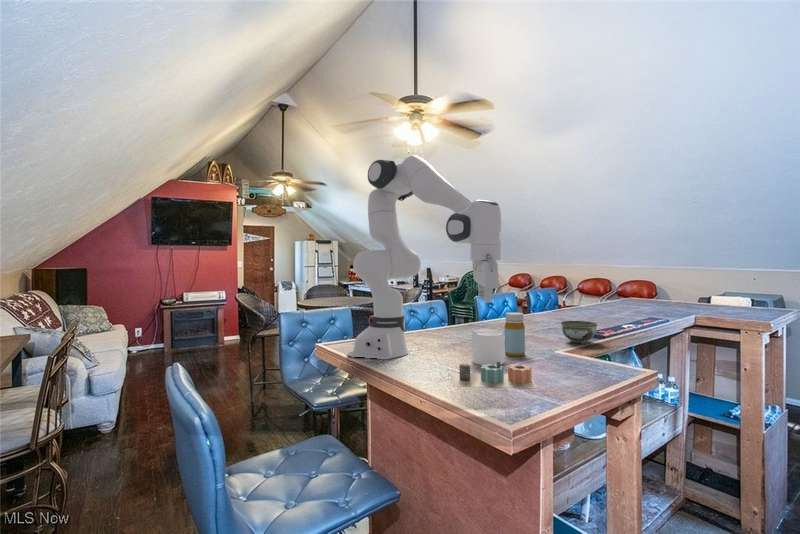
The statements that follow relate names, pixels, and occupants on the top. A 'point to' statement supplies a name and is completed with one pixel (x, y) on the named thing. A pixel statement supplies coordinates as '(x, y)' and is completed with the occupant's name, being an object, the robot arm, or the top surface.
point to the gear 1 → (492, 373)
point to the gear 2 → (519, 374)
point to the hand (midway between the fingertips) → (484, 299)
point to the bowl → (579, 330)
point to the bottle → (514, 334)
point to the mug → (488, 347)
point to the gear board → (474, 380)
